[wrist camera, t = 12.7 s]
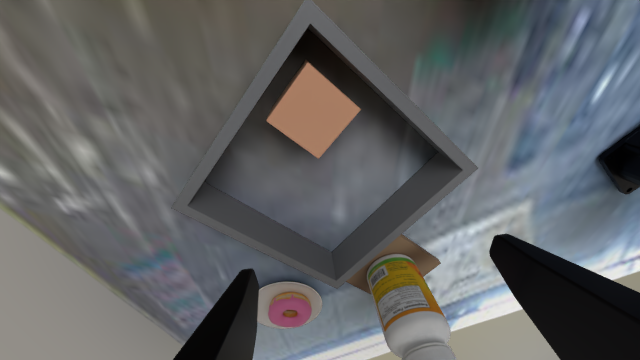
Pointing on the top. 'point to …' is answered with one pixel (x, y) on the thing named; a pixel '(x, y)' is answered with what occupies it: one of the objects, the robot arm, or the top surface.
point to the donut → (287, 305)
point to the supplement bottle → (408, 310)
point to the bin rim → (381, 225)
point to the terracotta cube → (312, 110)
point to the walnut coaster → (398, 246)
